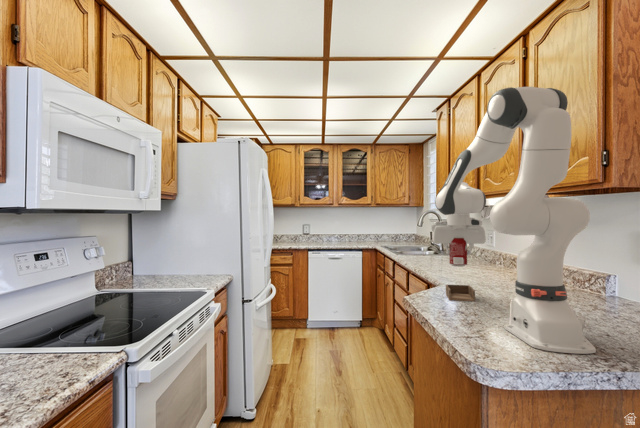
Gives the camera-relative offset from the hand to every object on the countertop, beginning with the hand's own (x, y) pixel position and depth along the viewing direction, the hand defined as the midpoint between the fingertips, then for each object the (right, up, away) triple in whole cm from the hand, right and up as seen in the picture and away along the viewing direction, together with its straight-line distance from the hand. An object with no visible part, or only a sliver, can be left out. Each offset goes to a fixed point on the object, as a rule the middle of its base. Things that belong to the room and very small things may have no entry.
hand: (458, 254), depth 130 cm
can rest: (0, -18, 0) cm, 18 cm away
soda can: (0, -5, 0) cm, 5 cm away
